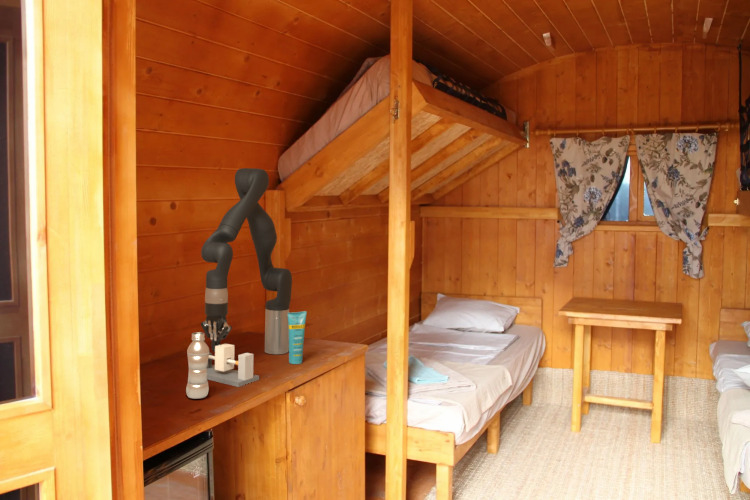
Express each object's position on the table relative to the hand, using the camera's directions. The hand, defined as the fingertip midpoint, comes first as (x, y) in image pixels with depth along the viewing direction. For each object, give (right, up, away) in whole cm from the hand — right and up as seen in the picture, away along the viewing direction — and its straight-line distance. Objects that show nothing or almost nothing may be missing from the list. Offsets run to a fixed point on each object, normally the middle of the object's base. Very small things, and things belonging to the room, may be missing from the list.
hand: (215, 351), depth 227 cm
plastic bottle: (0, -11, -23) cm, 26 cm away
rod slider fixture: (+3, -9, -1) cm, 9 cm away
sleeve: (+3, -6, -2) cm, 7 cm away
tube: (+25, -8, +21) cm, 33 cm away
